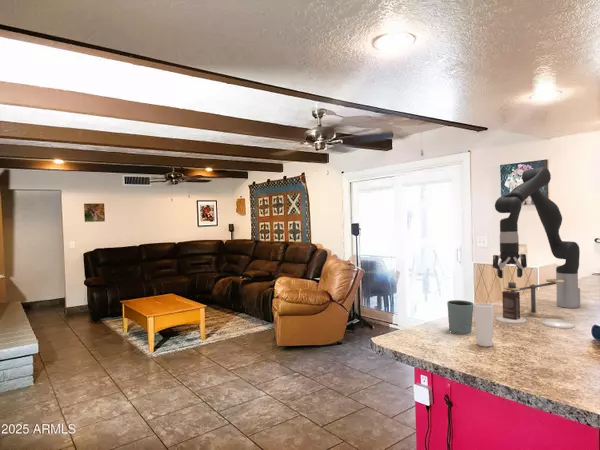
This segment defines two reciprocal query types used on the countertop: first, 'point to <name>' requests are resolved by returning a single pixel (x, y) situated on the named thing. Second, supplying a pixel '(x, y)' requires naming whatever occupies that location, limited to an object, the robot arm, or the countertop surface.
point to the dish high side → (558, 323)
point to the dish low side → (510, 320)
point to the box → (511, 304)
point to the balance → (532, 295)
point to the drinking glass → (484, 323)
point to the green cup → (460, 316)
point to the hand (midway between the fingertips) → (510, 277)
